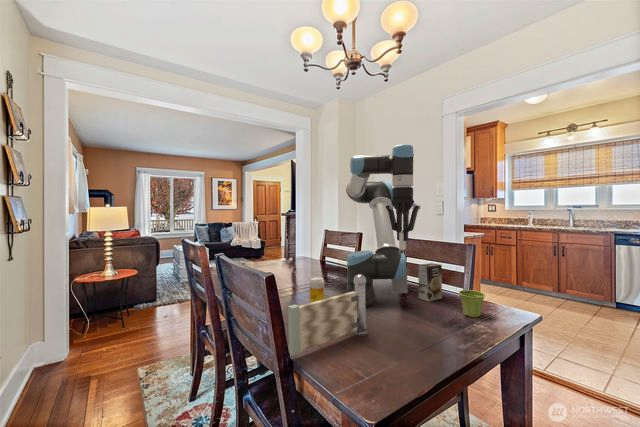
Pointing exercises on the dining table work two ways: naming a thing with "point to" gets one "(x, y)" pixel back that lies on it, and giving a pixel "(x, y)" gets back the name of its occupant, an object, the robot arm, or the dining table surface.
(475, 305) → the plant pot
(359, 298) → the gate post
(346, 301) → the gate panel
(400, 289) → the glass holder
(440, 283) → the coffee box
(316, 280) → the orange and white cylinder
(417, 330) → the dining table surface
